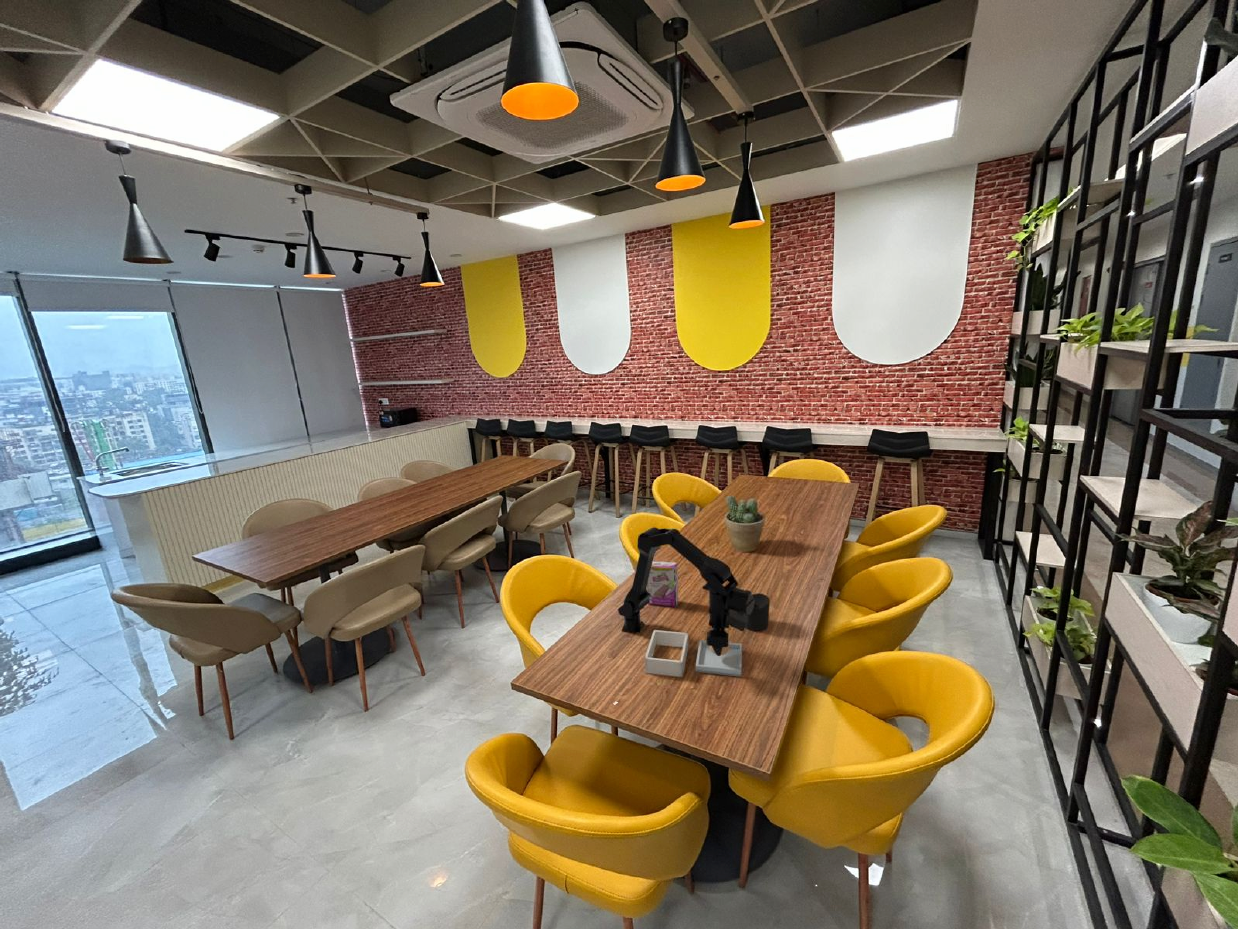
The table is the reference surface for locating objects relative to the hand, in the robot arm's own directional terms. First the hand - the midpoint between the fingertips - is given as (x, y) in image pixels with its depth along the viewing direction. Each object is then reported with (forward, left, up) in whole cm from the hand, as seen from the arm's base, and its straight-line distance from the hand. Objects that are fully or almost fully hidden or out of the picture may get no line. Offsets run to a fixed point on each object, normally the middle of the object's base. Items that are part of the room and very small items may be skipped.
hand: (719, 649), depth 154 cm
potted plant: (-88, +7, -4) cm, 88 cm away
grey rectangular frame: (+2, -16, -4) cm, 17 cm away
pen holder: (-22, +11, -4) cm, 25 cm away
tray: (0, 0, -4) cm, 4 cm away
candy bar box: (-32, -23, -4) cm, 40 cm away
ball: (0, 0, +2) cm, 2 cm away
